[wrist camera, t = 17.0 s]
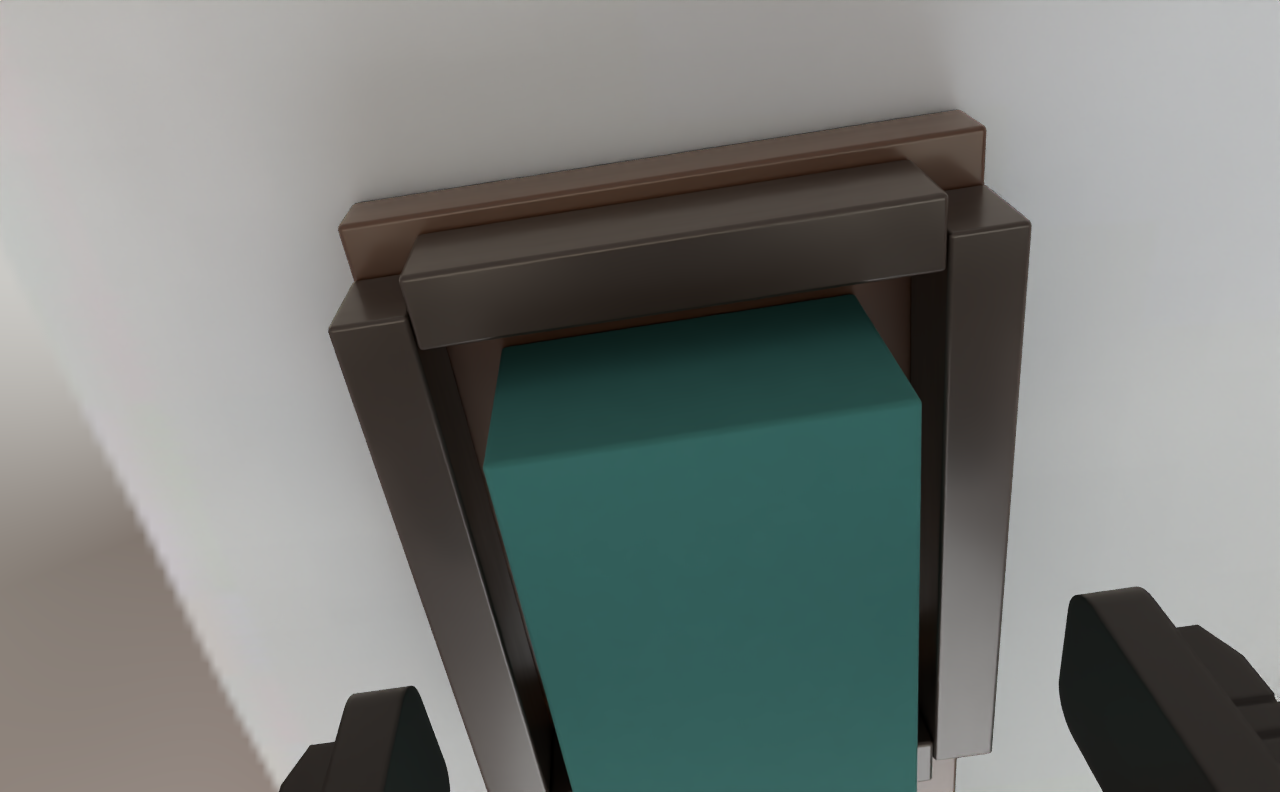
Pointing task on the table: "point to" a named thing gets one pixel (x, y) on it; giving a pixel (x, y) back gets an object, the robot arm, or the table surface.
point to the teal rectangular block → (718, 549)
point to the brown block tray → (678, 290)
